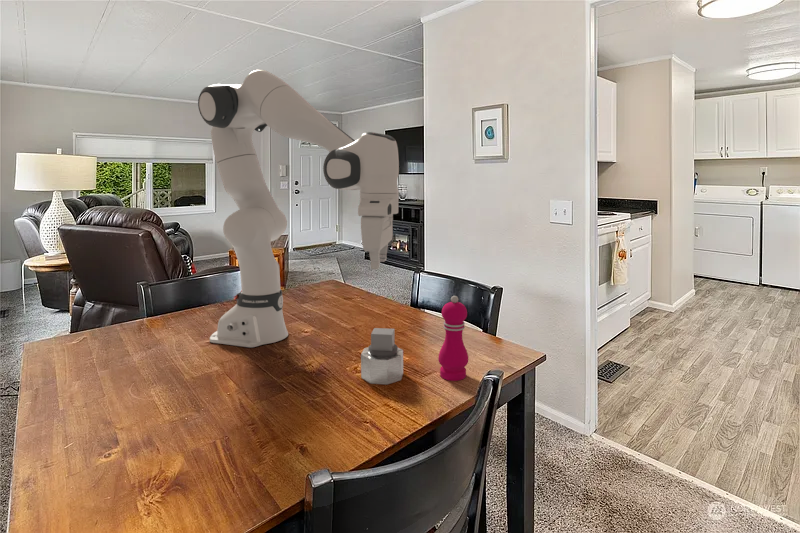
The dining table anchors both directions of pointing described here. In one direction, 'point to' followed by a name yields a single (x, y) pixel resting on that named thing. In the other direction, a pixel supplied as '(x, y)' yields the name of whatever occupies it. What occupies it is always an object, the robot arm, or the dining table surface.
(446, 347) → the pepper mill
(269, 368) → the dining table surface
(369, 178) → the robot arm
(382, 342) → the grey stepped piece
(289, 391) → the dining table surface
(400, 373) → the grey octagonal nut
